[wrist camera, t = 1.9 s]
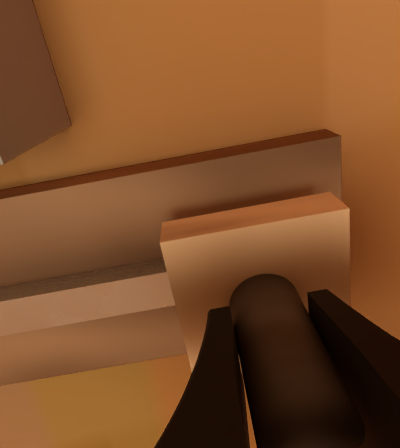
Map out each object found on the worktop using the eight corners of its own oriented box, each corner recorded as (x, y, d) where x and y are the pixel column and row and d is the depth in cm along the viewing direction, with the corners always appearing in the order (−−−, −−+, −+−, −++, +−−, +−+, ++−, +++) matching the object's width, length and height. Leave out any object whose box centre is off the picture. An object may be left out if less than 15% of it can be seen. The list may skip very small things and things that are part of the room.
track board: (331, 306, 18) (344, 326, 17) (-86, 379, 19) (-106, 403, 18) (326, 129, 15) (340, 136, 13) (-190, 225, 15) (-226, 241, 14)
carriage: (324, 308, 16) (436, 499, 9) (192, 331, 16) (200, 536, 9) (318, 181, 14) (464, 306, 7) (163, 210, 14) (145, 361, 7)
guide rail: (331, 261, 16) (342, 275, 15) (-138, 344, 16) (-161, 364, 15) (330, 227, 15) (342, 240, 14) (-158, 315, 16) (-184, 334, 14)
